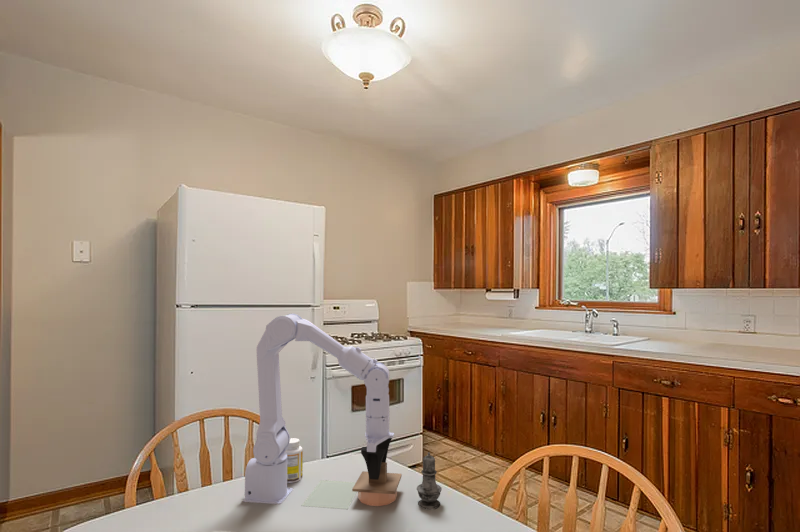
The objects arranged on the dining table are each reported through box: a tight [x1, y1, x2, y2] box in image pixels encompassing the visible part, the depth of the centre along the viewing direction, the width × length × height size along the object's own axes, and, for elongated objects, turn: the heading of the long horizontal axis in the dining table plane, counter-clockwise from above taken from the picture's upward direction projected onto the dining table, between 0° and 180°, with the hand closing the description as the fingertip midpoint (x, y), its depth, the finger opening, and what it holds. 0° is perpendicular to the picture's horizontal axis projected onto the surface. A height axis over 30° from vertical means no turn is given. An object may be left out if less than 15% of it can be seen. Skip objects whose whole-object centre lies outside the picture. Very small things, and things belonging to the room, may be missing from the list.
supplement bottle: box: [285, 437, 304, 484], centre depth 120 cm, size 6×6×10 cm
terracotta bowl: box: [357, 489, 398, 507], centre depth 109 cm, size 9×9×4 cm
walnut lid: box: [352, 461, 403, 494], centre depth 109 cm, size 10×10×5 cm
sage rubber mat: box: [301, 479, 358, 510], centre depth 111 cm, size 11×14×1 cm
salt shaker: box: [416, 451, 442, 511], centre depth 106 cm, size 6×6×12 cm
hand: (377, 472), depth 109 cm, fingers open, 7 cm apart
